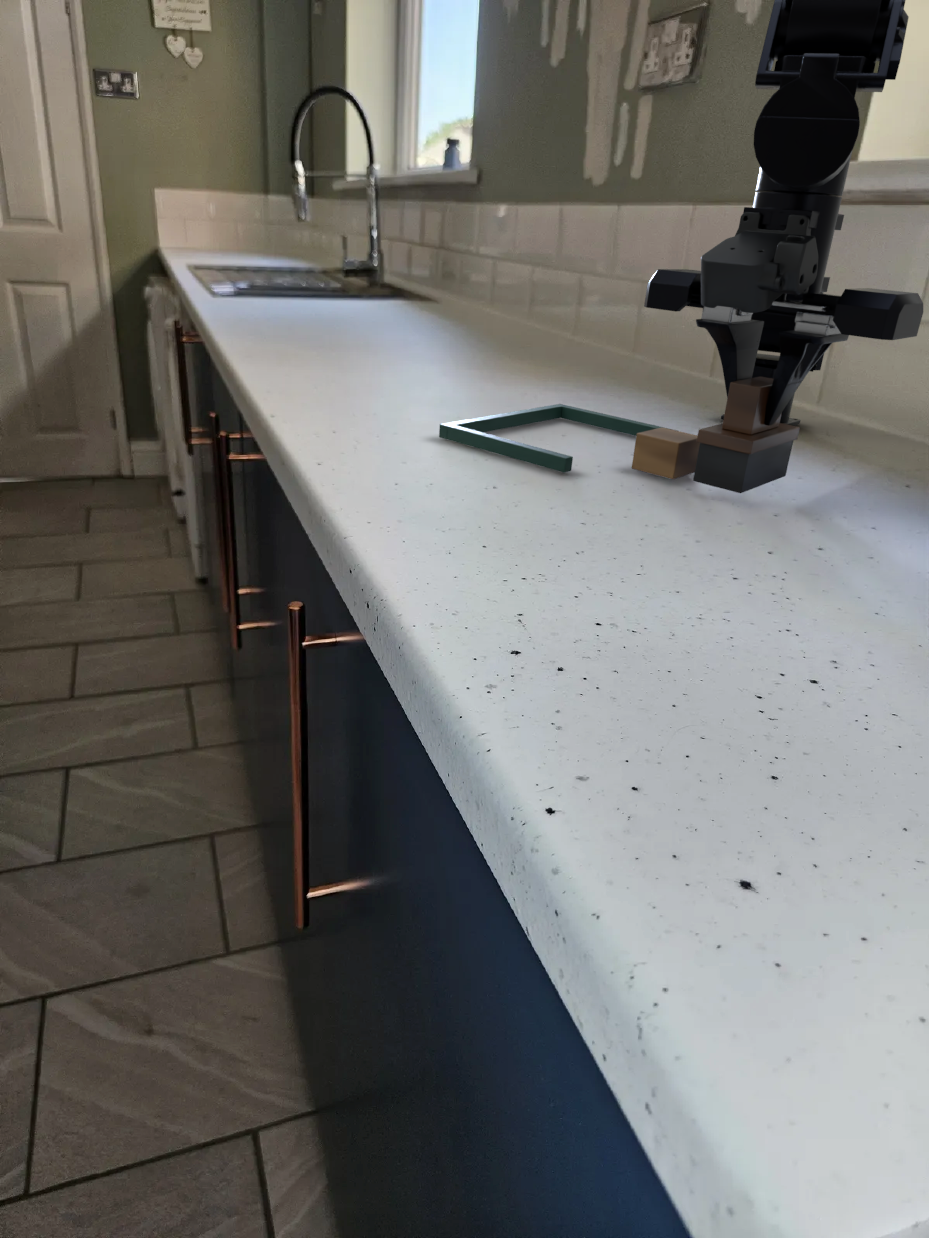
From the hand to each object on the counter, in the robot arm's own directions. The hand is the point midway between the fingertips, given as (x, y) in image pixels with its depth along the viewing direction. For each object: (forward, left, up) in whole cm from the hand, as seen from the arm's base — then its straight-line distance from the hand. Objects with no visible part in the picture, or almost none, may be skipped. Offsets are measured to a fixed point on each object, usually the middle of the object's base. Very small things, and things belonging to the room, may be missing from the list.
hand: (751, 421), depth 67 cm
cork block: (0, -7, -5) cm, 9 cm away
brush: (0, 0, -4) cm, 4 cm away
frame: (-1, -18, -5) cm, 18 cm away
